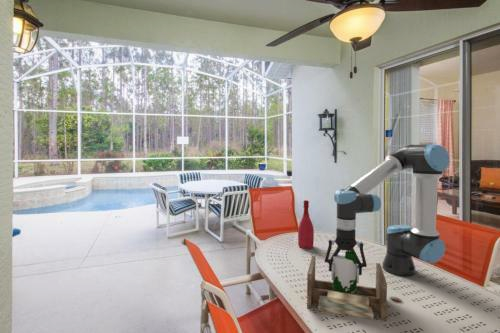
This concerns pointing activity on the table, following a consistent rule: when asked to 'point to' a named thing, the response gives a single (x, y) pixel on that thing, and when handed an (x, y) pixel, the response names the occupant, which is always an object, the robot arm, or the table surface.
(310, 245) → the wine bottle
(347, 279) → the soya milk
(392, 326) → the table surface
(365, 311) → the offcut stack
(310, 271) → the walnut rack
